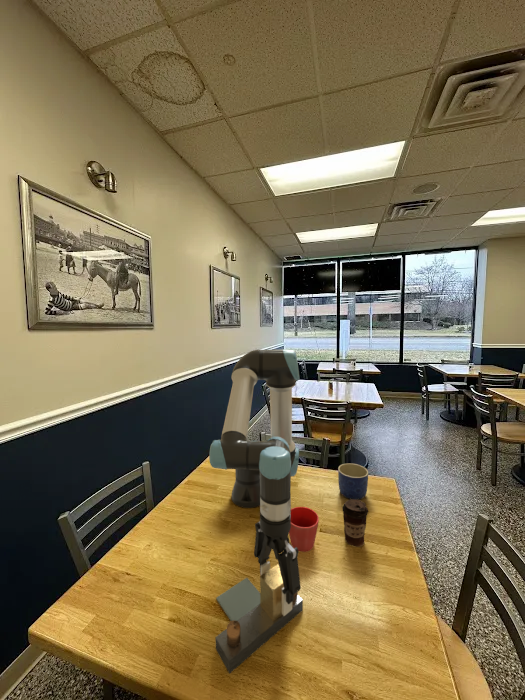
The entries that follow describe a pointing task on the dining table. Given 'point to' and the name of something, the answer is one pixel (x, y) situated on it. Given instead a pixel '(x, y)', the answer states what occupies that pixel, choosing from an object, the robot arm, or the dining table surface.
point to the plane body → (251, 633)
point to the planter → (353, 481)
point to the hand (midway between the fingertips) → (275, 598)
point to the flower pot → (303, 528)
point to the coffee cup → (354, 522)
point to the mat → (239, 599)
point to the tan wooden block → (271, 592)
